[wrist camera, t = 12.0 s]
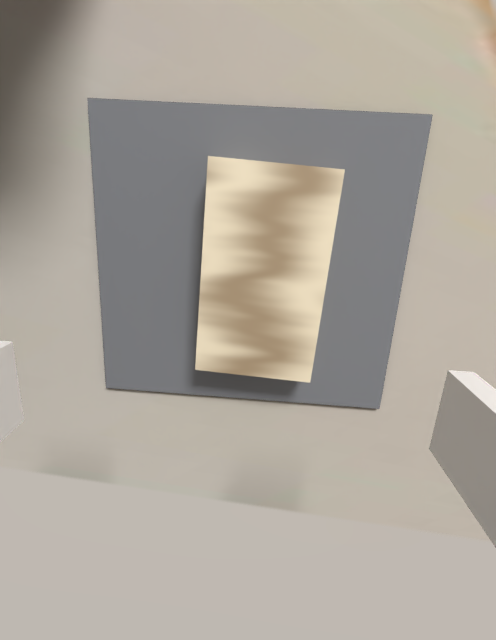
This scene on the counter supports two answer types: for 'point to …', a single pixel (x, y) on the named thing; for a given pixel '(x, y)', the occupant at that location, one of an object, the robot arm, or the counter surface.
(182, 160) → the mat
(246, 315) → the birch block
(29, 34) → the counter surface
